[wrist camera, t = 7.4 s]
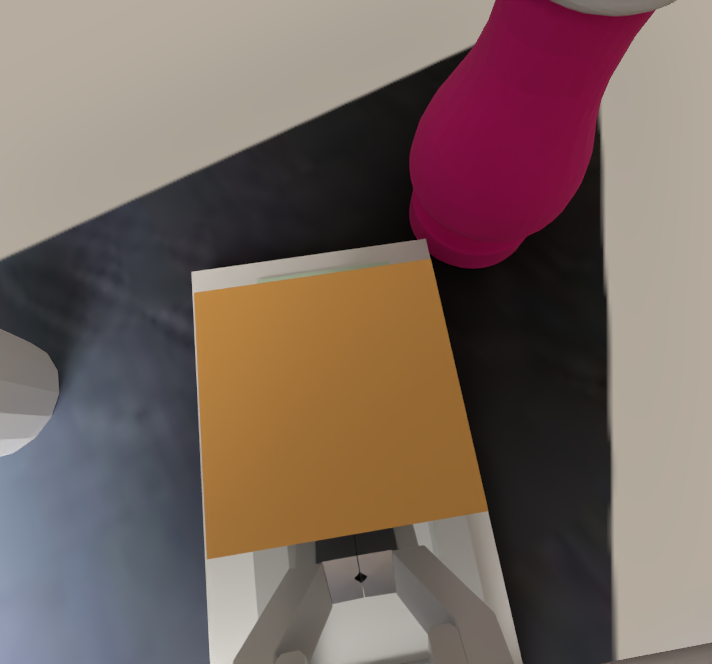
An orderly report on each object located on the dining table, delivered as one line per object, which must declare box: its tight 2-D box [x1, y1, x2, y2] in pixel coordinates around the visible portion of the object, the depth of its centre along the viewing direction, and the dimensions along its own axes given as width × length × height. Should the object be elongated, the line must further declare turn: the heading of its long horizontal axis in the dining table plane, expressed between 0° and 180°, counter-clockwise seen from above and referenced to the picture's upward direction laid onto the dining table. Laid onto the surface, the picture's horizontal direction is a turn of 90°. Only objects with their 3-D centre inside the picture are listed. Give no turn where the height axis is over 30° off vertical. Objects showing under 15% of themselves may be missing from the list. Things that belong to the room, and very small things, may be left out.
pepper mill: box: [409, 0, 676, 269], centre depth 12 cm, size 7×7×20 cm
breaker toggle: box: [194, 259, 488, 560], centre depth 11 cm, size 4×4×10 cm
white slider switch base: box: [192, 239, 523, 664], centre depth 16 cm, size 11×20×4 cm, turn 9°
